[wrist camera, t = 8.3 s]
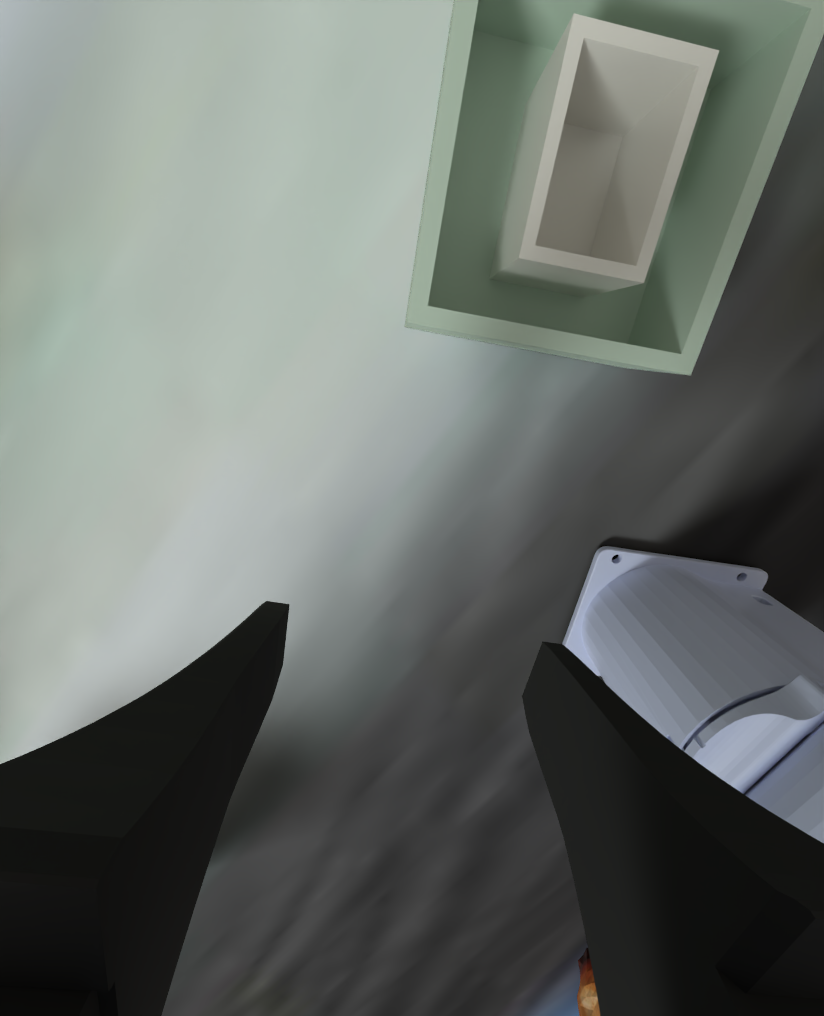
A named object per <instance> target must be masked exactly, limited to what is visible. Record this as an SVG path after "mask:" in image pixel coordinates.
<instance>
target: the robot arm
mask: <svg viewBox="0 0 824 1016" xmlns="http://www.w3.org/2000/svg"><path fill="white" fill-rule="evenodd" d="M615 555H618V557H617V558H616V559H615V560H612V557H613V556H615ZM739 574H741V575H740V576H738V575H739ZM737 576H738V577H737ZM767 579H768V574H767V573H766V572H765V571H763V570H762V569H759V568H754V567H747V566H740V565H733V564H726V563H720V562H713V561H706V560H699V559H692V558H686V557H679V556H672V555H665V554H658V553H651V552H645V551H638V550H631V549H624V548H617V547H611V546H603V547H601V548H599V549H598V550H597V551H596V553H595V556H594V559H593V561H592V564H591V567H590V569H589V572H588V575H587V578H586V580H585V583H584V586H583V589H582V591H581V594H580V597H579V600H578V602H577V605H576V608H575V611H574V613H573V616H572V619H571V622H570V624H569V627H568V630H567V633H566V635H565V638H564V641H563V643H562V644H556V643H549V642H542V645H541V647H540V650H539V653H538V655H537V658H536V661H535V663H534V666H533V669H532V671H531V674H530V677H529V679H528V682H527V685H526V687H525V690H524V693H523V695H522V697H523V703H524V709H525V714H526V719H527V724H528V728H529V733H530V736H531V739H532V742H533V745H534V748H535V751H536V754H537V757H538V760H539V763H540V766H541V769H542V772H543V775H544V778H545V781H546V784H547V787H548V790H549V793H550V796H551V799H552V802H553V805H554V808H555V811H556V814H557V817H558V820H559V823H560V827H561V830H562V833H563V837H564V841H565V845H566V849H567V853H568V857H569V862H570V866H571V870H572V874H573V878H574V883H575V887H576V892H577V896H578V901H579V906H580V910H581V915H582V920H583V924H584V929H585V934H586V939H587V944H588V950H589V955H590V960H591V965H592V971H593V976H594V981H595V987H596V992H597V998H598V1004H599V1010H600V1016H824V632H823V631H821V630H820V629H818V628H817V627H815V626H814V625H812V624H811V623H809V622H808V621H806V620H805V619H804V618H802V617H801V616H799V615H798V614H796V613H795V612H793V611H792V610H790V609H789V608H787V607H786V606H784V605H783V604H782V603H780V602H779V601H777V600H776V599H774V598H773V597H771V596H770V595H768V594H767V593H765V592H764V591H763V590H762V589H763V587H764V585H765V584H766V582H767ZM288 613H289V604H283V603H276V602H269V601H266V602H265V603H263V604H262V605H261V606H259V607H258V608H257V609H256V610H255V611H254V612H253V613H252V614H251V615H250V616H249V617H248V618H246V619H245V620H244V621H243V622H242V623H241V624H240V625H239V626H237V627H236V628H235V629H234V630H233V631H232V632H230V633H229V634H228V635H227V636H226V637H224V638H223V639H222V640H221V641H220V642H218V643H217V644H216V645H215V646H213V647H212V648H211V649H210V650H208V651H207V652H206V653H204V654H203V655H202V656H200V657H199V658H198V659H196V660H195V661H194V662H192V663H191V664H190V665H188V666H187V667H185V668H184V669H183V670H181V671H180V672H178V673H177V674H175V675H174V676H173V677H171V678H170V679H168V680H167V681H165V682H163V683H162V684H160V685H159V686H157V687H156V688H154V689H152V690H151V691H149V692H148V693H146V694H144V695H143V696H141V697H139V698H138V699H136V700H134V701H132V702H131V703H129V704H127V705H125V706H123V707H121V708H120V709H118V710H116V711H114V712H112V713H110V714H109V715H107V716H105V717H103V718H101V719H99V720H98V721H96V722H94V723H92V724H90V725H88V726H86V727H83V728H81V729H79V730H77V731H75V732H73V733H71V734H69V735H67V736H65V737H63V738H60V739H58V740H56V741H54V742H52V743H49V744H47V745H45V746H43V747H41V748H38V749H36V750H34V751H31V752H29V753H27V754H24V755H22V756H20V757H17V758H15V759H12V760H10V761H7V762H5V763H2V764H0V1016H161V1015H162V1011H163V1008H164V1005H165V1001H166V998H167V995H168V991H169V988H170V985H171V982H172V978H173V975H174V972H175V968H176V965H177V962H178V959H179V955H180V952H181V949H182V946H183V943H184V939H185V936H186V933H187V930H188V927H189V923H190V920H191V917H192V914H193V911H194V907H195V904H196V901H197V898H198V895H199V892H200V889H201V886H202V882H203V879H204V876H205V873H206V870H207V867H208V864H209V861H210V858H211V855H212V851H213V848H214V845H215V842H216V839H217V836H218V833H219V830H220V827H221V824H222V821H223V818H224V815H225V812H226V809H227V806H228V803H229V801H230V798H231V796H232V793H233V790H234V788H235V785H236V783H237V780H238V778H239V776H240V773H241V771H242V769H243V767H244V764H245V762H246V760H247V757H248V755H249V753H250V750H251V748H252V746H253V743H254V741H255V739H256V736H257V734H258V732H259V729H260V727H261V725H262V722H263V720H264V718H265V715H266V713H267V711H268V708H269V706H270V704H271V701H272V698H273V695H274V692H275V689H276V686H277V682H278V679H279V676H280V672H281V669H282V666H283V659H284V649H285V640H286V631H287V622H288ZM598 676H602V678H603V680H604V681H605V683H606V684H605V683H604V682H603V681H602V680H601V679H600V678H599V677H598Z"/></svg>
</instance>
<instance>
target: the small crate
mask: <svg viewBox="0 0 824 1016" xmlns="http://www.w3.org/2000/svg"><path fill="white" fill-rule="evenodd" d="M718 53H719V50H716V49H712V48H708V47H704V46H700V45H696V44H692V43H688V42H685V41H681V40H677V39H673V38H669V37H665V36H661V35H657V34H653V33H649V32H645V31H641V30H638V29H634V28H630V27H626V26H622V25H618V24H614V23H610V22H606V21H602V20H598V19H594V18H591V17H587V16H583V15H579V14H575V13H574V14H573V16H572V18H571V20H570V21H569V23H568V25H567V27H566V29H565V31H564V33H563V35H562V37H561V38H560V40H559V42H558V44H557V46H556V48H555V50H554V52H553V54H552V55H551V57H550V59H549V61H548V63H547V65H546V67H545V69H544V71H543V72H542V74H541V76H540V78H539V80H538V82H537V84H536V86H535V88H534V89H533V91H532V93H531V95H530V97H529V99H528V101H527V103H526V105H525V108H524V113H523V117H522V122H521V127H520V132H519V137H518V142H517V147H516V151H515V156H514V161H513V166H512V171H511V176H510V180H509V185H508V190H507V195H506V200H505V205H504V210H503V214H502V219H501V224H500V229H499V234H498V239H497V243H496V248H495V253H494V258H493V263H492V268H491V273H490V277H489V279H492V280H497V281H502V282H507V283H512V284H517V285H523V286H528V287H533V288H538V289H543V290H548V291H553V292H558V293H563V294H569V295H574V296H579V297H584V298H585V297H589V296H593V295H597V294H601V293H605V292H610V291H614V290H618V289H622V288H626V287H630V286H634V285H638V284H642V283H644V281H645V278H646V275H647V272H648V269H649V266H650V263H651V260H652V257H653V253H654V250H655V247H656V244H657V241H658V238H659V235H660V232H661V229H662V226H663V223H664V220H665V216H666V213H667V210H668V207H669V204H670V201H671V198H672V195H673V192H674V189H675V186H676V183H677V179H678V176H679V173H680V170H681V167H682V164H683V161H684V158H685V155H686V152H687V149H688V145H689V142H690V139H691V136H692V133H693V130H694V127H695V124H696V121H697V118H698V115H699V112H700V108H701V105H702V102H703V99H704V96H705V93H706V90H707V87H708V84H709V81H710V78H711V75H712V71H713V68H714V65H715V62H716V59H717V56H718Z"/></svg>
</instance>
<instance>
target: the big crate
mask: <svg viewBox="0 0 824 1016" xmlns="http://www.w3.org/2000/svg"><path fill="white" fill-rule="evenodd" d="M574 13H575V14H579V15H583V16H587V17H591V18H594V19H598V20H602V21H606V22H610V23H614V24H618V25H622V26H626V27H630V28H634V29H638V30H641V31H645V32H649V33H653V34H657V35H661V36H665V37H669V38H673V39H677V40H681V41H685V42H688V43H692V44H696V45H700V46H704V47H708V48H712V49H716V50H719V53H718V56H717V59H716V62H715V65H714V68H713V71H712V75H711V78H710V81H709V84H708V87H707V90H706V93H705V96H704V99H703V102H702V105H701V108H700V112H699V115H698V118H697V121H696V124H695V127H694V130H693V133H692V136H691V139H690V142H689V145H688V149H687V152H686V155H685V158H684V161H683V164H682V167H681V170H680V173H679V176H678V179H677V183H676V186H675V189H674V192H673V195H672V198H671V201H670V204H669V207H668V210H667V213H666V216H665V220H664V223H663V226H662V229H661V232H660V235H659V238H658V241H657V244H656V247H655V250H654V253H653V257H652V260H651V263H650V266H649V269H648V272H647V275H646V278H645V281H644V283H642V284H638V285H634V286H630V287H626V288H622V289H618V290H614V291H610V292H605V293H601V294H597V295H593V296H589V297H585V298H584V297H579V296H574V295H569V294H563V293H558V292H553V291H548V290H543V289H538V288H533V287H528V286H523V285H517V284H512V283H507V282H502V281H497V280H492V279H489V277H490V273H491V268H492V263H493V258H494V253H495V248H496V243H497V239H498V234H499V229H500V224H501V219H502V214H503V210H504V205H505V200H506V195H507V190H508V185H509V180H510V176H511V171H512V166H513V161H514V156H515V151H516V147H517V142H518V137H519V132H520V127H521V122H522V117H523V113H524V108H525V105H526V103H527V101H528V99H529V97H530V95H531V93H532V91H533V89H534V88H535V86H536V84H537V82H538V80H539V78H540V76H541V74H542V72H543V71H544V69H545V67H546V65H547V63H548V61H549V59H550V57H551V55H552V54H553V52H554V50H555V48H556V46H557V44H558V42H559V40H560V38H561V37H562V35H563V33H564V31H565V29H566V27H567V25H568V23H569V21H570V20H571V18H572V16H573V14H574ZM823 35H824V0H454V4H453V11H452V17H451V24H450V30H449V37H448V44H447V50H446V57H445V64H444V70H443V77H442V84H441V90H440V97H439V103H438V110H437V117H436V123H435V130H434V137H433V143H432V150H431V156H430V163H429V170H428V176H427V183H426V190H425V196H424V203H423V209H422V216H421V223H420V229H419V236H418V243H417V249H416V256H415V263H414V269H413V276H412V282H411V289H410V296H409V302H408V309H407V316H406V322H405V327H407V328H412V329H418V330H423V331H429V332H434V333H439V334H445V335H450V336H455V337H461V338H466V339H472V340H477V341H482V342H488V343H493V344H499V345H504V346H509V347H515V348H520V349H525V350H531V351H536V352H542V353H547V354H552V355H558V356H563V357H569V358H574V359H579V360H585V361H590V362H595V363H601V364H606V365H612V366H617V367H622V368H629V369H638V370H647V371H655V372H664V373H673V374H682V375H691V373H692V371H693V368H694V366H695V363H696V361H697V358H698V356H699V353H700V350H701V348H702V345H703V343H704V340H705V338H706V335H707V332H708V330H709V327H710V325H711V322H712V320H713V317H714V314H715V312H716V309H717V307H718V304H719V302H720V299H721V296H722V294H723V291H724V289H725V286H726V284H727V281H728V279H729V276H730V273H731V271H732V268H733V266H734V263H735V261H736V258H737V255H738V253H739V250H740V248H741V245H742V243H743V240H744V237H745V235H746V232H747V230H748V227H749V225H750V222H751V219H752V217H753V214H754V212H755V209H756V207H757V204H758V202H759V199H760V196H761V194H762V191H763V189H764V186H765V184H766V181H767V178H768V176H769V173H770V171H771V168H772V166H773V163H774V160H775V158H776V155H777V153H778V150H779V148H780V145H781V142H782V140H783V137H784V135H785V132H786V130H787V127H788V125H789V122H790V119H791V117H792V114H793V112H794V109H795V107H796V104H797V101H798V99H799V96H800V94H801V91H802V89H803V86H804V83H805V81H806V78H807V76H808V73H809V71H810V68H811V65H812V63H813V60H814V58H815V55H816V53H817V50H818V48H819V45H820V42H821V40H822V37H823Z"/></svg>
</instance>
